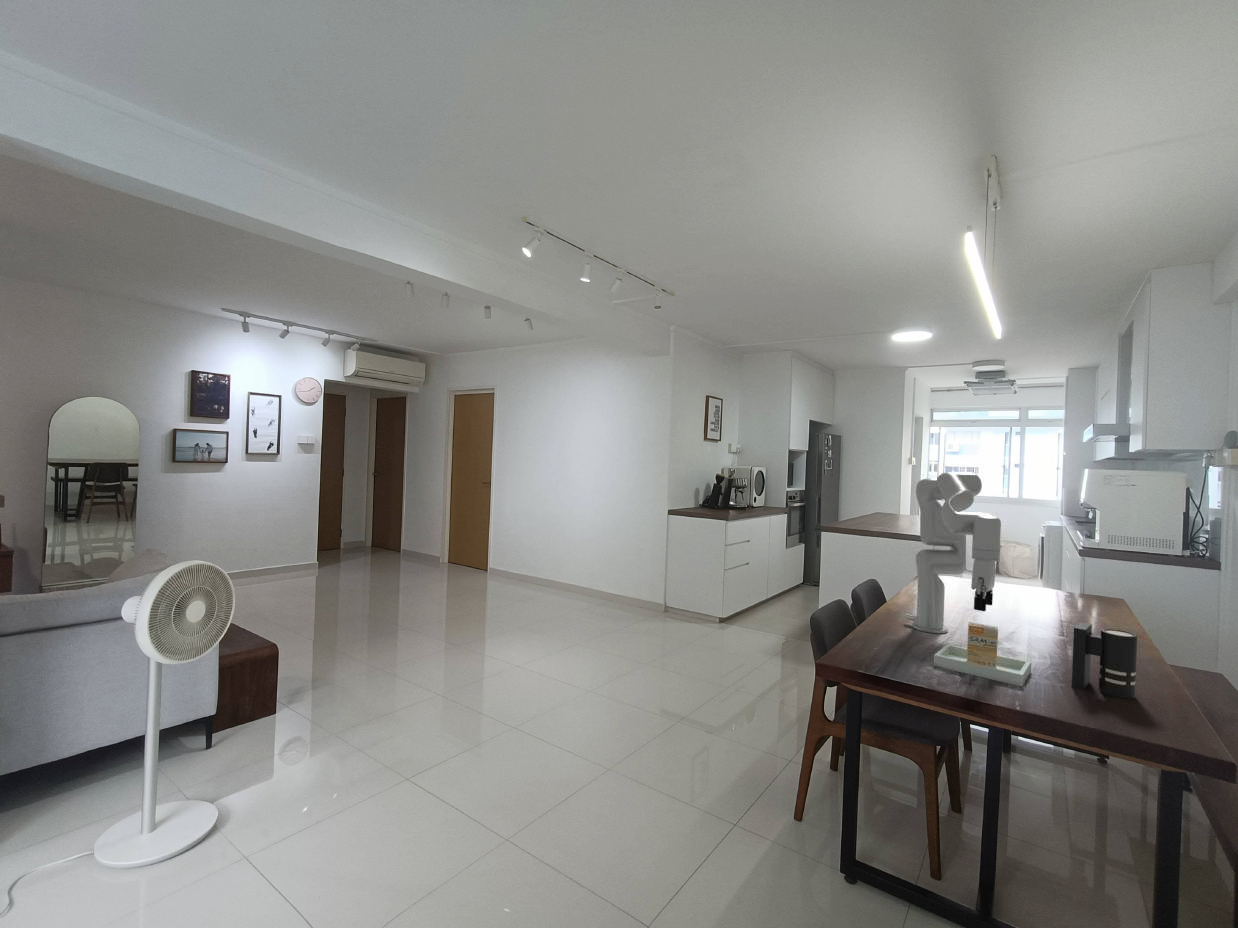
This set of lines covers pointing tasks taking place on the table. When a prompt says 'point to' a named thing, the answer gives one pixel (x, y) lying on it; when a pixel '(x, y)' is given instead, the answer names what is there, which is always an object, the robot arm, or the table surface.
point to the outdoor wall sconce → (1105, 660)
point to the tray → (984, 666)
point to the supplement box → (982, 644)
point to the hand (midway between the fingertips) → (983, 607)
